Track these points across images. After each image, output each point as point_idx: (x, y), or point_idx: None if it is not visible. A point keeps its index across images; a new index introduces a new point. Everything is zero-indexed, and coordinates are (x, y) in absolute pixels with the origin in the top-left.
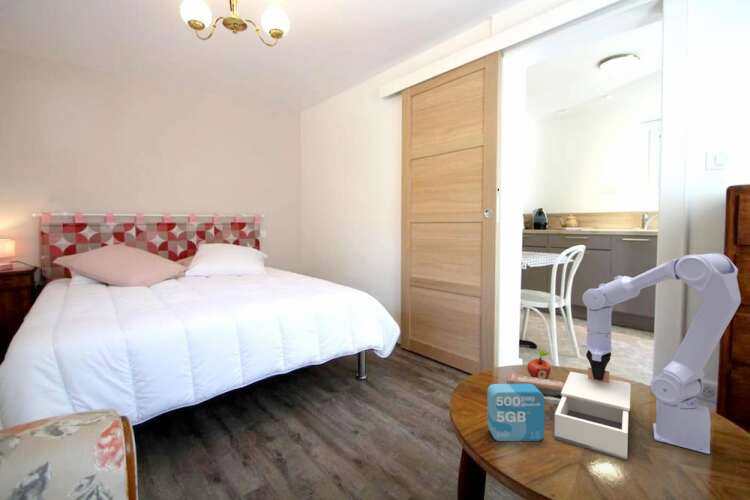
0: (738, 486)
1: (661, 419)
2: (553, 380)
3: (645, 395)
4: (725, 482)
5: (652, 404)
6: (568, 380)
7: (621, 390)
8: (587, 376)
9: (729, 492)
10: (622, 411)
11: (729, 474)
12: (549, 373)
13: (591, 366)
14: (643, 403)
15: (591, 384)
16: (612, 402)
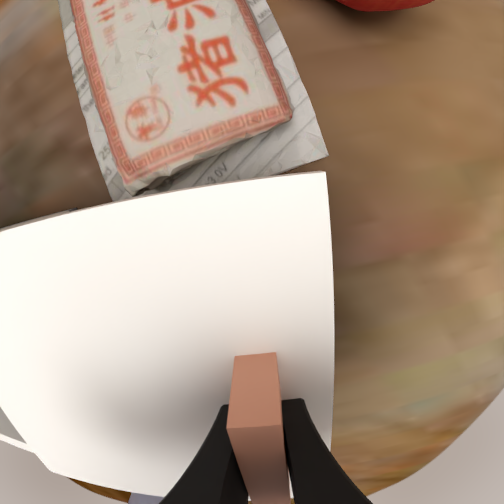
0: (99, 493)
1: (132, 499)
2: (232, 54)
3: (446, 403)
4: (92, 486)
5: (382, 432)
6: (64, 231)
7: None
8: (290, 342)
9: (73, 481)
10: None
11: (121, 496)
12: (382, 6)
13: (166, 495)
14: (377, 419)
15: (130, 387)
16: (35, 441)
